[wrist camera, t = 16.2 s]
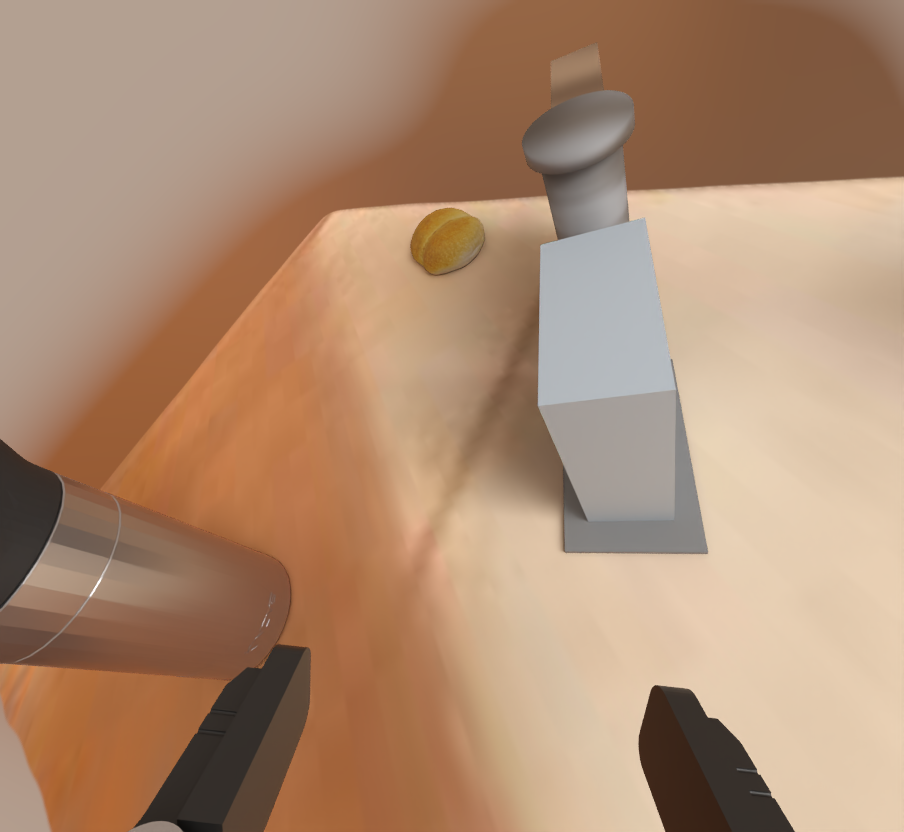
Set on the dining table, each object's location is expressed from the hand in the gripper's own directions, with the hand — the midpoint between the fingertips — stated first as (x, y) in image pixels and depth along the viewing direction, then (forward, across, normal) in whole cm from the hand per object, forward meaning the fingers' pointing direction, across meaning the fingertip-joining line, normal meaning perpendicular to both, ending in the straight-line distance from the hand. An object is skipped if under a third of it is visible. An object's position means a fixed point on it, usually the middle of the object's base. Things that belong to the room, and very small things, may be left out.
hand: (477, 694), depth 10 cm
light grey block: (+21, +10, 0) cm, 23 cm away
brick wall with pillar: (+31, +11, +9) cm, 34 cm away
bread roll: (+46, -4, +14) cm, 48 cm away
